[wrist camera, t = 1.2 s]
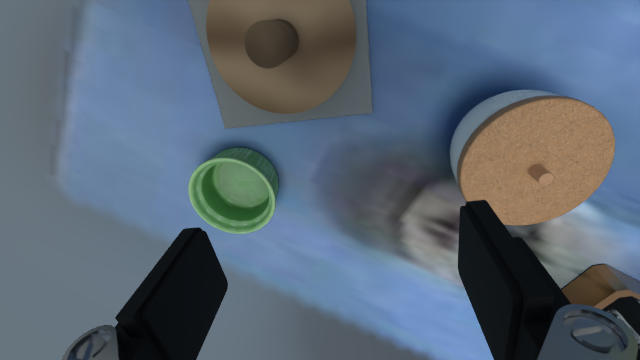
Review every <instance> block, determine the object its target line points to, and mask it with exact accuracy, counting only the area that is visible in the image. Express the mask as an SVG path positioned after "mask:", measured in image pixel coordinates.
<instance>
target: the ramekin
mask: <svg viewBox="0 0 640 360" xmlns="http://www.w3.org/2000/svg"><path fill="white" fill-rule="evenodd" d="M278 185H279V183H278V176H277V173H276V171H275V169H274V167H273V166H272V164H271V163H270V162H269V161H268V160H267V159H266V158H265V157H264V156H263V155H261V154H260V153H258V152H256V151H254V150H251V149H247V148H239V147H236V148H230V149H226V150H223V151H221V152H220V153H218V154H217V155H216V156H214V157H213V158H212V159H209V160H207V161H205V162H204V163H202V164H201V165H199V166H198V167H197V168H196V170H195V171H194V172H193V174H192V176H191V178H190V181H189V189H188V191H189V197H190V200H191V203H192V205H193V207H194V209H195V210H196V212H197V213H198V214H199V215H200V217H201V218H202V219H204V220H205V221H206V222H207V223H209V224H210V225H212V226H213V227H215V228H217V229H220V230H222V231H225V232H229V233H235V234H244V233H250V232H254V231H256V230H258V229H260V228H262V227H263V226H265V225H266V224H267V223H268V222H269V220H270V219H271V217H272V216H273V213H274V211H275V206H276V197H277V192H278Z"/></svg>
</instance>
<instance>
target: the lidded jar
mask: <svg viewBox="0 0 640 360" xmlns="http://www.w3.org/2000/svg"><path fill="white" fill-rule="evenodd" d="M614 152H615V138H614V134H613V130H612V127H611V125H610V123H609V121H608V120H607V119H606V118H605V116H604V115H603V114H602V113H601V112H600V111H598V110H597V109H596V108H594V107H593V106H591V105H589V104H587V103H585V102H582V101H580V100H577V99H574V98H570V97H565V96H561V95H558V94H555V93H551V92H546V91H540V90H513V91H508V92H504V93H501V94H498V95H495V96H492V97H490V98H488V99H486V100H484V101H482V102H481V103H479V104H478V105H476V106H475V107H474V108H472V109H471V110H470V111H469V112H468V113H467V114H466V115H465V116H464V118H463V119H462V120H461V121H460V123H459V125H458V126H457V128H456V130H455V132H454V134H453V137H452V141H451V145H450V163H451V168H452V171H453V175H454V178H455V180H456V182H457V184H458V186H459V189H460V191H461V193H462V195H463V197H464V199H465V201H466V202H467V201H476V200H486V201H487V202H488V203H489V205H490V206H491V208H492V209H493V211H494V212H495V213H496V215H497V216H498V218H499V219H500V220H501V222H502V223H503V224H507V225H529V224H536V223H540V222H544V221H548V220H551V219H553V218H556V217H559V216H561V215H563V214H565V213H567V212H569V211H571V210H572V209H574V208H575V207H577V206H578V205H580V204H581V203H582V202H583V201H585V200H586V199H587V198H589V197H590V196H591V194H592V193H593V192H594V191H595V190H596V189H597V188H598V187H599V186H600V184H601V183H602V182H603V180H604V179H605V177H606V175H607V173H608V172H609V169H610V167H611V164H612V162H613V158H614Z"/></svg>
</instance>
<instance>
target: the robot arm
mask: <svg viewBox="0 0 640 360" xmlns="http://www.w3.org/2000/svg"><path fill="white" fill-rule="evenodd" d="M458 270H459V275H460V277H461V280H462V282H463V285H464V287H465V290H466V292H467V295H468V297H469V299H470V302H471V304H472V307H473V309H474V312H475V314H476V317H477V319H478V321H479V324H480V326H481V329H482V331H483V334H484V336H485V339H486V341H487V343H488V346H489V348H490V351H491V353H492V356H493V358H494V360H640V349H639V348H638V345H637V340H636V338H635V336H634V334H633V333H632V331H631V330H630V329H629V328H628V327H627V326H626V325H625V324H624V323H623V322H622V321H620V320H619V319H617V318H616V317H615V316H613V315H611V314H609V313H607V312H605V311H603V310H601V309H598V308H595V307H592V306H588V305H581V304H571V303H570V301H569V300H568V299H567V297H566V296H565V295H564V293H563V292H562V291H561V289H560V288H559V287H558V285H557V284H556V283H555V281H554V280H553V279H552V277H551V276H550V275H549V273H548V272H547V271H546V269H545V268H544V267H543V265H542V264H541V263H540V261H539V260H538V259H537V257H536V256H535V255H534V253H533V252H532V251H531V249H530V248H529V247H528V245H527V244H526V243H525V241H524V240H523V239H522V238H520V237H512V236H511V234H510V233H509V232H508V230H507V229H506V227H505V226H504V225H503V223H502V222H501V220H500V219H499V218H498V216H497V215H496V213H495V212H494V211H493V209H492V208H491V206H490V205H489V203H488V202H487V201H486V200H476V201H467V202H466V206H461V208H460V224H459V251H458ZM227 287H228V283H227V279H226V277H225V274H224V272H223V270H222V268H221V265H220V263H219V261H218V258H217V256H216V254H215V251H214V249H213V247H212V245H211V242H210V240H209V238H208V235H207V233H206V232H205V231H202V229H201V228H187V229H183V230H182V231H181V233H180V234H179V235H178V237H177V238H176V239H175V240H174V242H173V243H172V244H171V246H170V247H169V248H168V250H167V251H166V252H165V254H164V255H163V256H162V257H161V259H160V260H159V261H158V263H157V264H156V265H155V267H154V268H153V269H152V271H151V272H150V273H149V274H148V276H147V277H146V278H145V280H144V281H143V282H142V283H141V285H140V286H139V287H138V289H137V290H136V291H135V293H134V294H133V295H132V297H131V298H130V299H129V300H128V302H127V303H126V304H125V306H124V307H123V308H122V309H121V311H120V312H119V313H118V315H117V316H116V320H117V321H118V322H119V323H118V324H117V325H116V327H113V326H112V325H102V326H98V327H96V328H93V329H91V330H89V331H88V332H86V333H84V334H83V335H81V336H80V337H79V338H78V339H76V340H75V341H74V342H73V343H72V344H71V345H70V347H69V348H68V349H67V350H66V352H65V354H64V355H63V358H62V360H196V359H197V356H198V354H199V352H200V350H201V347H202V345H203V343H204V340H205V338H206V336H207V334H208V332H209V329H210V327H211V325H212V322H213V320H214V318H215V315H216V313H217V311H218V309H219V307H220V305H221V302H222V300H223V298H224V295H225V293H226V291H227Z"/></svg>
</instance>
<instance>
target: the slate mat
mask: <svg viewBox="0 0 640 360" xmlns="http://www.w3.org/2000/svg"><path fill="white" fill-rule="evenodd" d="M188 1H189V5H190V8H191V12H192V15H193V18H194V22H195V25H196V29H197V32H198V36H199V39H200V43H201V46H202V50H203V53H204V57H205V60H206V63H207V67H208V70H209V74H210V77H211V81H212V84H213V88H214V91H215V95H216V98H217V101H218V105H219V108H220V112H221V115H222V119H223V122H224V126H225V129H226V128H236V127H245V126H254V125H264V124H273V123H282V122H292V121H301V120H311V119H320V118H329V117H339V116H348V115H357V114H367V113H373V112H372V94H371V77H370V60H369V42H368V25H367V8H366V0H349V1H350V4H351V7H352V10H353V14H354V18H355V26H356V45H355V53H354V57H353V61H352V64H351V67H350V70H349V72H348V74H347V76H346V78H345V80H344V81H343V83H342V84H341V86H340V87H339V88H338V89H337V90H336V92H335V93H334V94H333V95H332V96H331V97H329V98H328V99H327V100H326V101H324V102H323V103H321V104H320V105H318V106H316V107H314V108H312V109H310V110H307V111H304V112H299V113H294V114H280V113H273V112H268V111H265V110H262V109H259V108H257V107H255V106H253V105H251V104H249V103H248V102H246V101H245V100H243V99H242V98H241V97H240V96H238V95H237V94H236V93H235V92H234V91H233V90H232V89H231V88H230V87H229V86H228V84H227V83H226V82H225V81H224V79H223V78H222V76H221V75H220V73H219V71H218V70H217V68H216V65H215V63H214V61H213V59H212V56H211V53H210V49H209V45H208V40H207V31H206V17H207V10H208V5H209V1H210V0H188Z"/></svg>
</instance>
